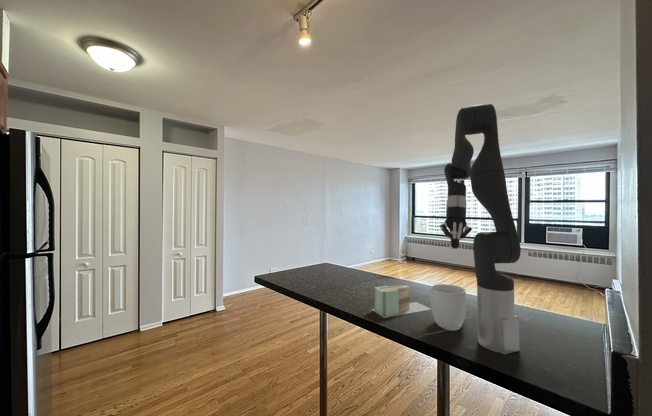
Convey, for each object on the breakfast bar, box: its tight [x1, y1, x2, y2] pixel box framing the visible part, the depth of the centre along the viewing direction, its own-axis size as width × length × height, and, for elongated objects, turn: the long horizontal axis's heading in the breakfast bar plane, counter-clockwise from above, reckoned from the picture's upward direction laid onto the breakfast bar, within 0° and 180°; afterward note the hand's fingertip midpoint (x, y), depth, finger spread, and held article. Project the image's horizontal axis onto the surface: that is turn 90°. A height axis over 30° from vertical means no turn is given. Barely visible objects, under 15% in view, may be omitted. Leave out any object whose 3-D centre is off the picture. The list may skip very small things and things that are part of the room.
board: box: [371, 301, 431, 319], centre depth 105 cm, size 9×22×1 cm, turn 110°
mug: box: [430, 283, 468, 332], centre depth 91 cm, size 15×11×13 cm
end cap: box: [373, 285, 399, 316], centre depth 102 cm, size 7×7×9 cm
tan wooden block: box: [379, 284, 410, 311], centre depth 104 cm, size 4×12×9 cm, turn 110°
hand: (454, 248), depth 108 cm, fingers closed
